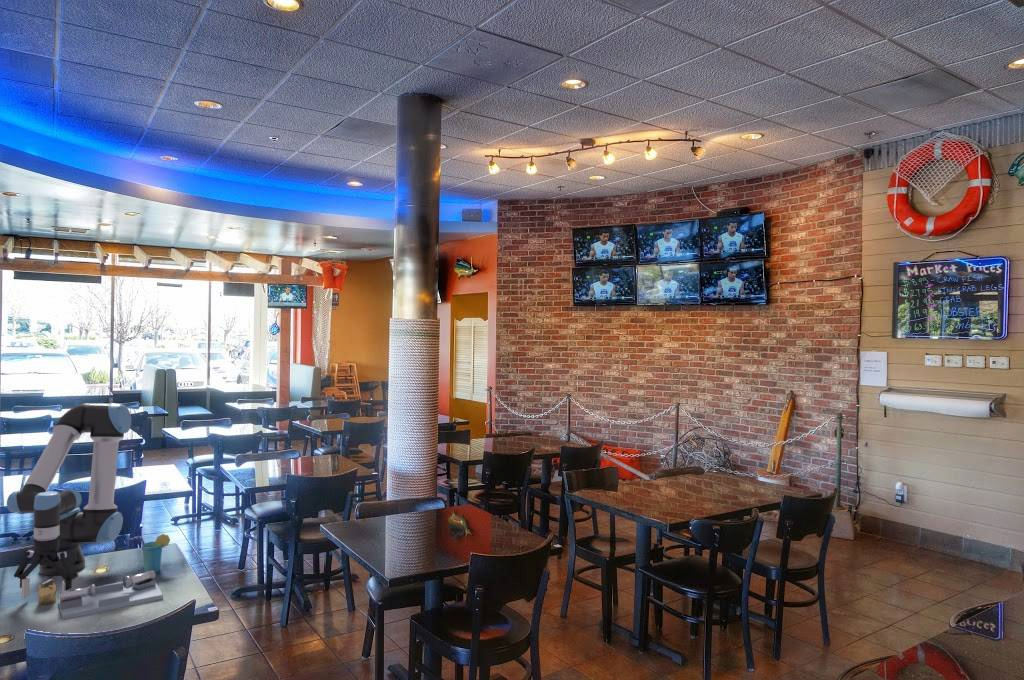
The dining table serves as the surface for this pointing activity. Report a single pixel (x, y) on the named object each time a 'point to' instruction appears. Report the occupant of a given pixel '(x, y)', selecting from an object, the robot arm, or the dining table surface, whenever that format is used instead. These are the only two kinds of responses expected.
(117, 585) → the bench
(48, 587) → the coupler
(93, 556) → the dining table surface
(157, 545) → the cup
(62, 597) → the shaft
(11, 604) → the dining table surface
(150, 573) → the shaft
